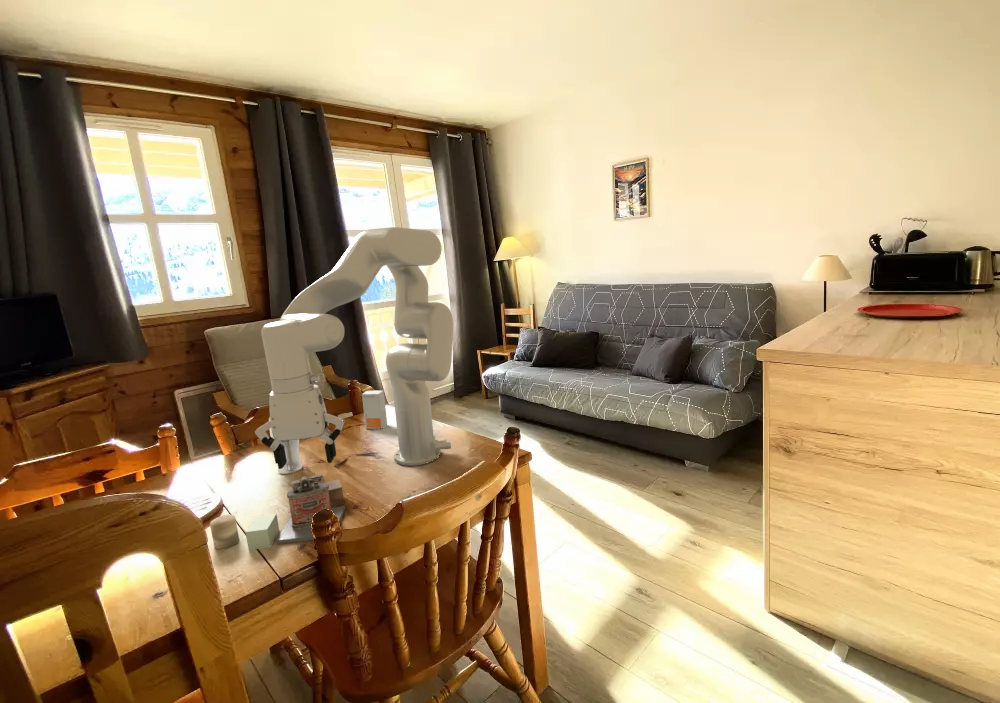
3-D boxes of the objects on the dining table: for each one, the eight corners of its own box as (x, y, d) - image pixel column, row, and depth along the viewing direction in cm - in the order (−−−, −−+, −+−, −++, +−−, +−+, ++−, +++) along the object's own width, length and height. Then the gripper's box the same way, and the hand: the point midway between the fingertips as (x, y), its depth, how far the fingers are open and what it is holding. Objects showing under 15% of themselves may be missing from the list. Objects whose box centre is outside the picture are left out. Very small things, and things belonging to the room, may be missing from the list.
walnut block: (341, 497, 114) (338, 479, 113) (344, 505, 110) (342, 487, 109) (321, 502, 112) (318, 484, 111) (323, 511, 108) (320, 492, 107)
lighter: (292, 531, 99) (285, 485, 97) (291, 523, 102) (284, 479, 100) (333, 520, 102) (327, 476, 100) (332, 513, 105) (326, 470, 103)
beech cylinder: (242, 535, 100) (238, 513, 99) (234, 548, 95) (230, 524, 94) (219, 538, 99) (215, 516, 98) (210, 551, 95) (205, 528, 94)
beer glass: (294, 475, 127) (285, 420, 124) (270, 474, 128) (261, 420, 125) (309, 464, 133) (301, 412, 130) (286, 463, 135) (278, 411, 132)
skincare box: (365, 429, 158) (361, 394, 156) (370, 424, 162) (366, 390, 160) (382, 429, 157) (378, 393, 155) (388, 424, 161) (384, 390, 159)
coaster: (345, 509, 108) (344, 506, 107) (334, 537, 97) (333, 533, 97) (294, 515, 106) (293, 511, 106) (276, 544, 96) (276, 540, 96)
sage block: (276, 513, 100) (256, 515, 99) (267, 529, 94) (245, 532, 94) (279, 531, 101) (259, 533, 100) (270, 547, 95) (248, 550, 94)
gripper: (341, 373, 100) (353, 450, 104) (254, 382, 99) (270, 460, 103) (333, 384, 93) (346, 466, 97) (239, 394, 91) (256, 476, 95)
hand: (307, 462), depth 100 cm, fingers open, 9 cm apart
